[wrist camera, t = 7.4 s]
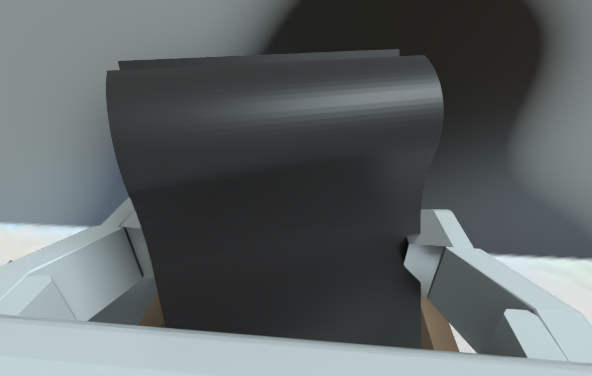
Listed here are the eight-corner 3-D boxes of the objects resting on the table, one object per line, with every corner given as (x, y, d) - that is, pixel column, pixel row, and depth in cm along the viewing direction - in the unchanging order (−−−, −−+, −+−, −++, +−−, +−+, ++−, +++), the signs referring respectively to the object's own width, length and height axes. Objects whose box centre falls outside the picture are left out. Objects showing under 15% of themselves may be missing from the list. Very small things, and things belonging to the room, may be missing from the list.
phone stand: (419, 496, 9) (679, 116, 3) (220, 586, 8) (-70, 220, 2) (318, 277, 17) (334, 33, 10) (206, 303, 15) (143, 37, 9)
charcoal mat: (-339, 566, 11) (-359, 563, 10) (14, 266, 22) (10, 260, 22) (-20, 620, 10) (-31, 618, 9) (172, 277, 21) (170, 271, 21)
